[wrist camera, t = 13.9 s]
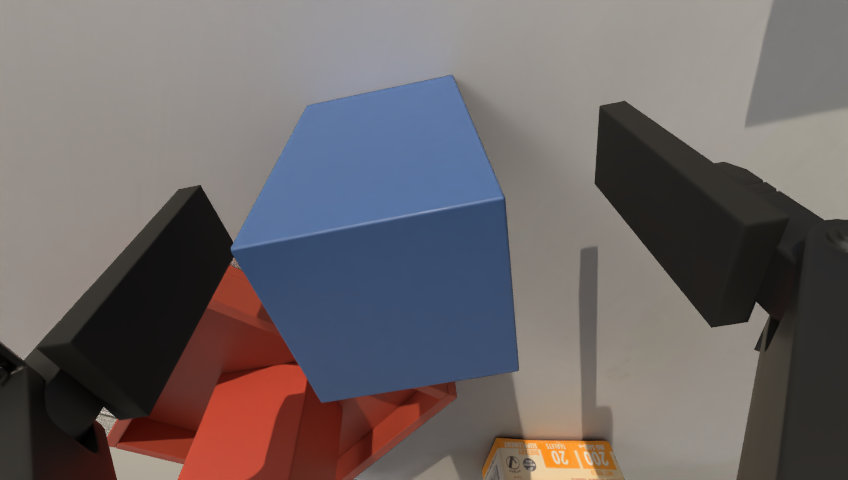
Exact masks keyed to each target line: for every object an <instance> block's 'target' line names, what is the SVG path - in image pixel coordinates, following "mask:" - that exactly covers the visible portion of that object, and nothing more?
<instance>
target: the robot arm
mask: <svg viewBox="0 0 848 480" xmlns="http://www.w3.org/2000/svg"><path fill="white" fill-rule="evenodd" d="M595 185H596V186H597V187H598V188H599V189H600V191H601V192H602V193H603V194H604V196H605V197H606V198H607V199H608V201H609V202H610V203H611V204H612V206H613V207H614V208H615V209H616V210H617V212H618V213H619V214H620V215H621V217H622V218H623V219H624V220H625V222H626V223H627V224H628V225H629V226H630V228H631V229H632V230H633V231H634V233H635V234H636V235H637V236H638V238H639V239H640V240H641V241H642V243H643V244H644V245H645V246H646V247H647V249H648V250H649V251H650V252H651V254H652V255H653V256H654V257H655V259H656V260H657V261H658V262H659V264H660V265H661V266H662V267H663V268H664V270H665V271H666V272H667V273H668V275H669V276H670V277H671V278H672V280H673V281H674V282H675V283H676V284H677V286H678V287H679V288H680V289H681V291H682V292H683V293H684V294H685V296H686V297H687V298H688V299H689V301H690V302H691V303H692V304H693V305H694V307H695V308H696V309H697V310H698V312H699V313H700V314H701V315H702V317H703V318H704V319H705V320H706V321H707V323H708V324H709V325H710V326H711V328H712V327H718V326H724V325H731V324H737V323H744V322H748V320H749V318H750V315H751V313H752V310H753V308H754V305H755V303H756V302H757V303H758V304H759V305H760V306H761V307H762V308H763V309H764V310H765V311H766V312H767V313H768V314H769V318H768V320H767V322H766V324H765V327H764V329H763V331H762V333H761V336H760V338H759V340H758V342H757V345H756V347H755V349H754V350H757V351H760V354H759V360H758V365H757V371H756V376H755V382H754V387H753V392H752V398H751V403H750V409H749V414H748V420H747V425H746V431H745V436H744V442H743V447H742V453H741V458H740V464H739V469H738V475H737V480H848V220H840V219H834V220H823V219H822V218H820V217H819V216H817V215H816V214H814V213H813V212H811V211H809V210H808V209H806V208H805V207H803V206H802V205H800V204H799V203H797V202H796V201H794V200H793V199H791V198H790V197H788V196H786V195H785V194H783V193H782V192H780V191H778V192H777V191H776V188H774V187H773V186H771V185H770V184H768V183H767V182H764V183H763V180H762V179H760V178H759V177H757V176H756V175H754V174H753V173H751V172H750V171H748V170H747V169H744V168H741V167H738V166H735V165H732V164H729V163H726V162H720V163H715V164H714V163H713V162H711V161H710V160H708V159H707V158H706V157H704V156H703V155H701V154H700V153H698V152H697V151H696V150H694V149H693V148H691V147H690V146H688V145H687V144H686V143H684V142H683V141H681V140H680V139H678V138H677V137H676V136H674V135H673V134H671V133H670V132H668V131H667V130H666V129H664V128H663V127H661V126H660V125H658V124H657V123H656V122H654V121H653V120H651V119H650V118H648V117H647V116H646V115H644V114H643V113H641V112H640V111H638V110H637V109H636V108H634V107H633V106H631V105H630V104H628V103H627V102H626V101H622V102H617V103H612V104H607V105H602V106H600V109H599V125H598V140H597V155H596V171H595ZM232 245H233V241H232V239H231V237H230V236H229V234H228V232H227V230H226V229H225V227H224V225H223V223H222V222H221V220H220V218H219V217H218V215H217V213H216V211H215V210H214V208H213V206H212V204H211V203H210V201H209V199H208V197H207V196H206V194H205V192H204V191H203V189H202V187H201V185H198V186H193V187H188V188H183V189H179V190H178V191H177V192H176V193H175V194H174V195H173V196H172V197H171V199H170V200H169V201H168V202H167V203H166V204H165V205H164V206H163V207H162V209H161V210H160V211H159V212H158V213H157V214H156V215H155V216H154V217H153V218H152V220H151V221H150V222H149V223H148V224H147V225H146V226H145V227H144V228H143V230H142V231H141V232H140V233H139V234H138V235H137V236H136V237H135V238H134V240H133V241H132V242H131V243H130V244H129V245H128V246H127V247H126V248H125V250H124V251H123V252H122V253H121V254H120V255H119V256H118V257H117V258H116V260H115V261H114V262H113V263H112V264H111V265H110V266H109V267H108V268H107V270H106V271H105V272H104V273H103V274H102V275H101V276H100V277H99V278H98V279H97V281H96V282H95V283H94V284H93V285H92V286H91V287H90V288H89V289H88V290H87V291H86V292H85V293H84V294H83V296H82V297H81V298H80V299H79V300H78V301H77V302H76V303H75V304H74V306H73V307H72V308H71V309H70V310H69V311H68V312H67V313H66V314H65V315H64V317H63V318H62V319H61V321H59V322H58V323H57V324H56V325H55V327H54V328H53V329H52V330H51V331H50V332H49V333H48V334H47V335H46V337H45V338H44V339H43V340H42V341H41V342H40V343H39V344H38V345H37V346H36V348H35V349H34V350H33V351H32V352H31V353H30V354H29V355H28V356H27V358H26V359H25V360H24V361H23V360H22V359H21V358H20V357H19V356H17V355H16V354H15V353H14V352H12V351H11V350H10V349H9V348H8V347H6V346H5V345H4V344H3V343H2V342H0V480H117V478H116V474H115V470H114V466H113V462H112V457H111V454H110V449H109V445H108V441H107V437H106V432H105V429H104V428H103V426H102V425H101V424H100V423H99V422H97V421H96V420H95V419H96V418H97V416H98V415H99V413H100V411H101V410H102V408H103V407H105V408H106V409H107V410H108V411H109V412H110V413H111V414H113V415H114V416H115V417H116V418H117V419H118V420H127V419H133V418H139V417H146V416H149V415H150V413H151V412H152V410H153V408H154V406H155V404H156V402H157V400H158V398H159V396H160V395H161V393H162V391H163V389H164V387H165V385H166V383H167V381H168V380H169V378H170V376H171V374H172V372H173V370H174V368H175V366H176V365H177V363H178V361H179V359H180V357H181V355H182V353H183V351H184V349H185V348H186V346H187V344H188V342H189V340H190V338H191V336H192V334H193V333H194V331H195V329H196V327H197V325H198V323H199V321H200V319H201V318H202V316H203V314H204V312H205V310H206V308H207V306H208V304H209V302H210V301H211V299H212V297H213V295H214V293H215V291H216V289H217V287H218V286H219V284H220V282H221V280H222V278H223V276H224V274H225V272H226V271H227V269H228V267H229V265H230V263H231V261H232V259H233V257H234V256H233V254H232V252H231V247H232Z"/></svg>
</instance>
